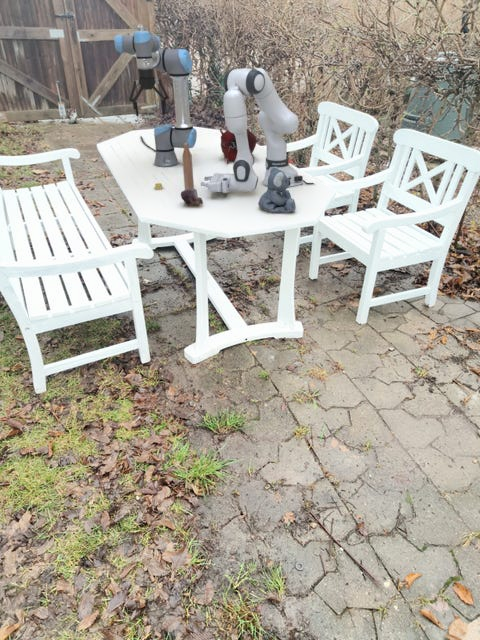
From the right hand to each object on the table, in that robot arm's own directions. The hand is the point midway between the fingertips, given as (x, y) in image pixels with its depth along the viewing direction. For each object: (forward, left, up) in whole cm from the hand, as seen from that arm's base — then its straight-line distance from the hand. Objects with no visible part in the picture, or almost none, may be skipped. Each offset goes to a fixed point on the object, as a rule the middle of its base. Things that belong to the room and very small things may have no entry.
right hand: (202, 181), depth 243 cm
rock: (+10, +16, -6) cm, 20 cm away
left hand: (+22, -16, +32) cm, 42 cm away
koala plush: (-30, +34, -6) cm, 46 cm away
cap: (+22, -16, -4) cm, 27 cm away
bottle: (+7, -3, -6) cm, 10 cm away
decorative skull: (-38, -60, -6) cm, 71 cm away
